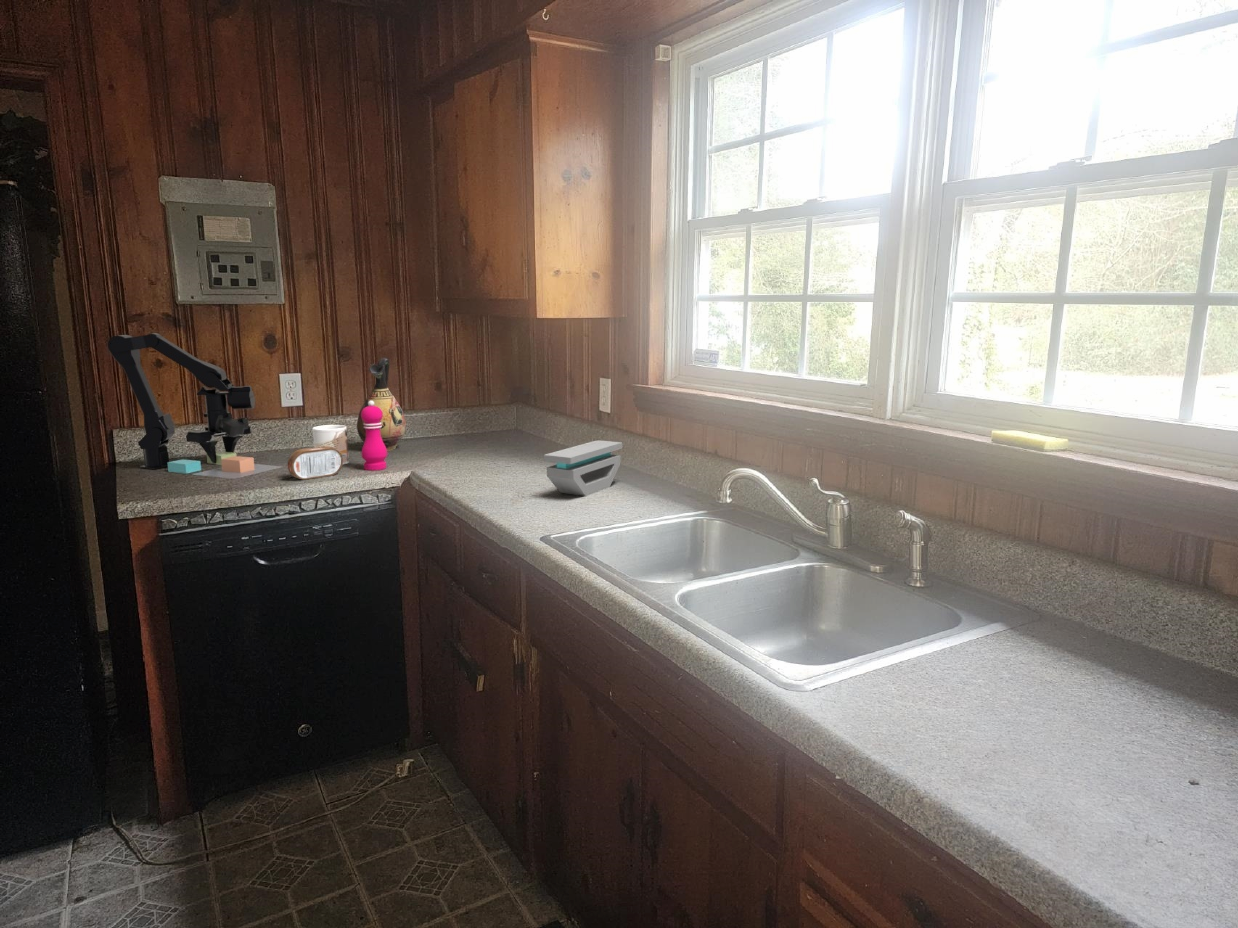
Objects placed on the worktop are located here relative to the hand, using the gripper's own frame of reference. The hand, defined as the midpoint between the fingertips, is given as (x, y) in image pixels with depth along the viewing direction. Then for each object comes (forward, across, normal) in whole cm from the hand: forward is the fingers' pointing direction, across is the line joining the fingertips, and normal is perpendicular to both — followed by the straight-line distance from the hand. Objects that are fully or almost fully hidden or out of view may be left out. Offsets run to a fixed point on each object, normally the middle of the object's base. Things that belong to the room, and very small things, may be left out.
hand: (222, 461), depth 243 cm
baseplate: (+1, -7, -14) cm, 16 cm away
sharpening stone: (+1, +9, -116) cm, 116 cm away
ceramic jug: (+1, +40, -28) cm, 49 cm away
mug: (+1, +15, -29) cm, 33 cm away
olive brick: (+1, 0, 0) cm, 1 cm away
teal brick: (+1, -13, 0) cm, 13 cm away
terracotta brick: (0, -7, -14) cm, 16 cm away
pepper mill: (+1, +12, -47) cm, 49 cm away
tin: (+1, -4, -40) cm, 40 cm away
